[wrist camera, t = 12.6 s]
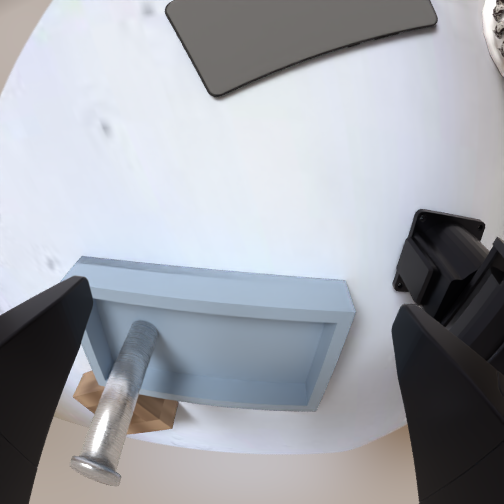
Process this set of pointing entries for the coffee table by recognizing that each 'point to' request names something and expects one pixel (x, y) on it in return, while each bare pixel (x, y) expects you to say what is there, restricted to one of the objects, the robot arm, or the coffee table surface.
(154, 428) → the pin block
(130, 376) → the metal pin
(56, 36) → the coffee table surface
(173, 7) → the smartphone
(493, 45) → the decorative candle
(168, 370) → the tray
